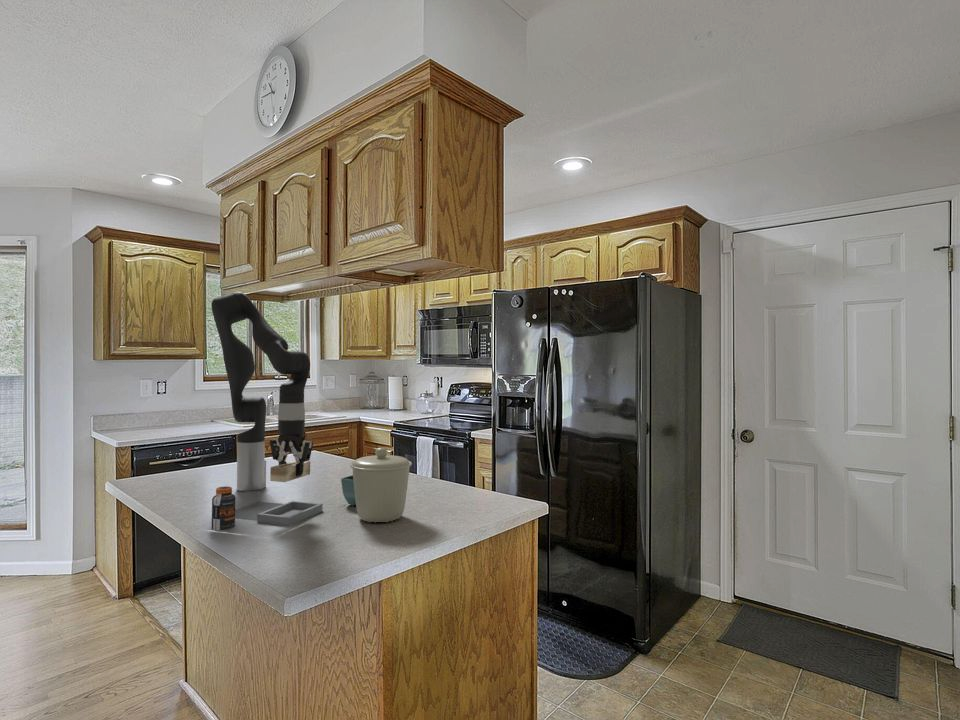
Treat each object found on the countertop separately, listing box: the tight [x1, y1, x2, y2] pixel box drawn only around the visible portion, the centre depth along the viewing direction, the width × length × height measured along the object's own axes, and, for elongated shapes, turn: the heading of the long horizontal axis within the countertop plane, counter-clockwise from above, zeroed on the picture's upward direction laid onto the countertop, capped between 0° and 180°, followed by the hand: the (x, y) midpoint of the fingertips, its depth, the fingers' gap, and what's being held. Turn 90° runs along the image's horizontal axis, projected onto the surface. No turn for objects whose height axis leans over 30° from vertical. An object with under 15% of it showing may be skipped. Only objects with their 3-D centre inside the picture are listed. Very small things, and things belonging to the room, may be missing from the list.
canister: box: [349, 447, 413, 524], centre depth 164 cm, size 18×18×21 cm
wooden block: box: [269, 459, 311, 483], centre depth 164 cm, size 12×5×4 cm, turn 162°
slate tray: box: [256, 500, 323, 527], centre depth 164 cm, size 16×11×3 cm
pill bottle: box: [211, 485, 236, 532], centre depth 153 cm, size 6×6×11 cm
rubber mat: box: [235, 500, 284, 522], centre depth 170 cm, size 18×14×1 cm
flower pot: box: [340, 474, 356, 506], centre depth 179 cm, size 9×9×9 cm
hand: (290, 474), depth 164 cm, fingers closed on wooden block, 5 cm apart
